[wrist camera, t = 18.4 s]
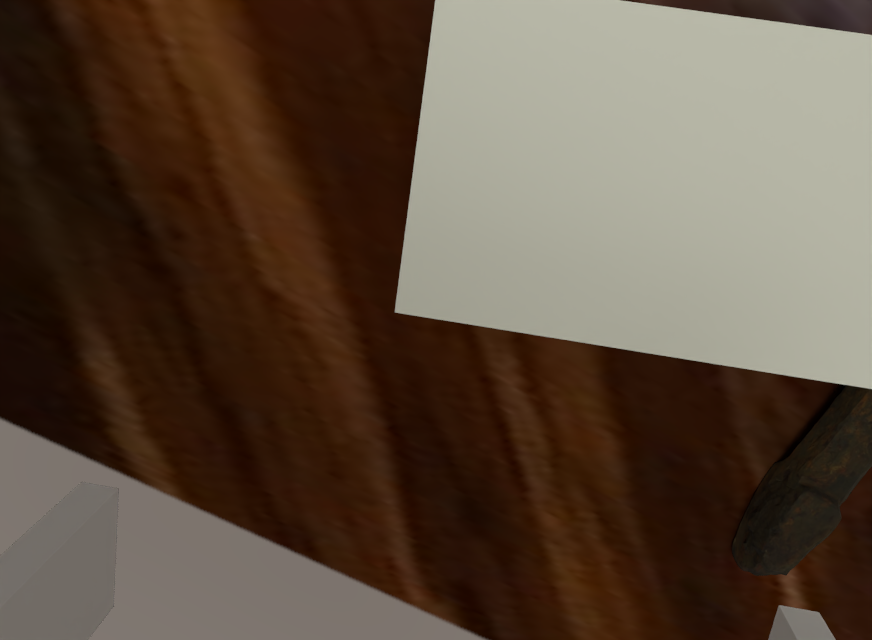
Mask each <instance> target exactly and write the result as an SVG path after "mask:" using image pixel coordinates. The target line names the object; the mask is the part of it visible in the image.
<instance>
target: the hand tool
mask: <svg viewBox="0 0 872 640" xmlns="http://www.w3.org/2000/svg"><path fill="white" fill-rule="evenodd" d="M871 467H872V389H868V388H862V387H856V386H849V385H846V386H845V388H844V389H843V390H842V391H841V393H840V394H839V395H838V396H837V397H836V398H835V399H834V401H833V402H832V404H831V405H830V407H829V408H828V409H827V411H826V412H825V413H824V414H823V416H822V417H821V418H820V419H819V420H818V422H817V423H816V424H815V425H814V426H813V428H812V429H811V430H810V432H809V433H808V434H807V435H806V436H805V437H804V438H803V440H802V441H801V442H800V443H799V444H798V446H797V447H796V448H795V450H794V451H793V452H792V453H791V455H790V456H789V457H787V458H786V459H784V460H783V461H780V462H776V463H774V464H773V466H772V467H771V468H770V470H769V471H768V473H767V474H766V475H765V477H764V478H763V480H762V482H761V483H760V485H759V487H758V488H757V490H756V492H755V494H754V496H753V498H752V500H751V502H750V504H749V506H748V508H747V510H746V512H745V514H744V517H743V519H742V521H741V523H740V526H739V529H738V531H737V534H736V537H735V539H734V541H733V545H732V554H733V557H734V559H735V561H736V563H737V565H738V566H739V567H740V568H741V569H742V570H743V571H748V572H751V573H752V574H754V575H757V576H759V575H762V576H763V575H770V574H773V575H778V574H783V575H787V574H788V572H789V571H790V570H791V569H792V568H794V567H795V566H796V565H797V564H798V563H799V562H800V561H801V560H802V559H803V558H804V557H805V556H806V555H807V554H808V553H809V552H810V551H811V550H812V549H813V548H815V547H816V546H817V545H818V544H819V543H821V542H822V541H823V540H824V539H825V538H827V537H828V536H829V535H830V534H831V533H832V531H833V530H834V529H835V528H836V526H837V525H838V523H839V522H840V520H841V513H840V508H839V507H840V505H841V504H842V503H843V502H844V501H845V500H846V499H847V497H848V496H849V495H850V494H851V491H852V490H853V489H854V487H855V486H856V485H857V483H858V482H859V481H860V480H861V479H862V477H863V476H864V475H865V474H866V472H867V471H868V470H869V468H871Z"/></svg>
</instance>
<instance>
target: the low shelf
mask: <svg viewBox="0 0 872 640" xmlns="http://www.w3.org/2000/svg"><path fill="white" fill-rule="evenodd" d="M395 312H396V313H402V314H408V315H414V316H420V317H427V318H433V319H439V320H445V321H452V322H458V323H464V324H470V325H476V326H483V327H489V328H495V329H501V330H507V331H514V332H520V333H526V334H532V335H539V336H545V337H551V338H557V339H563V340H570V341H576V342H582V343H588V344H594V345H601V346H607V347H613V348H619V349H626V350H632V351H638V352H644V353H650V354H657V355H663V356H669V357H675V358H682V359H688V360H694V361H700V362H706V363H713V364H719V365H725V366H731V367H737V368H744V369H750V370H756V371H762V372H769V373H775V374H781V375H787V376H793V377H800V378H806V379H812V380H818V381H824V382H831V383H837V384H843V385H849V386H856V387H862V388H868V389H872V35H868V34H860V33H853V32H846V31H839V30H831V29H824V28H817V27H809V26H802V25H795V24H788V23H780V22H773V21H766V20H759V19H751V18H744V17H737V16H730V15H722V14H715V13H708V12H701V11H693V10H686V9H679V8H671V7H664V6H657V5H650V4H642V3H635V2H628V1H621V0H435V7H434V15H433V22H432V30H431V38H430V45H429V53H428V61H427V68H426V76H425V84H424V91H423V99H422V107H421V114H420V122H419V130H418V137H417V145H416V153H415V160H414V168H413V176H412V183H411V191H410V199H409V206H408V214H407V222H406V229H405V237H404V245H403V252H402V260H401V268H400V275H399V283H398V291H397V298H396V306H395Z"/></svg>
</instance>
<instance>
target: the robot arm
mask: <svg viewBox="0 0 872 640" xmlns="http://www.w3.org/2000/svg"><path fill="white" fill-rule="evenodd" d="M118 494H119V489H118V488H113V487H107V486H102V485H96V484H91V483H85V482H81V483H80V484H79V485H78V486H77V487H75V488H74V489H73V490H72V491H71V492H70V493H69V494H68V495H67V496H66V497H64V498H63V499H62V500H61V501H60V502H59V503H58V504H57V505H56V506H54V507H53V508H52V509H51V510H50V511H49V512H48V513H47V514H46V515H44V516H43V517H42V518H41V519H40V520H39V521H38V522H37V523H36V524H35V525H33V526H32V527H31V528H30V529H29V530H28V531H27V532H26V533H25V534H23V535H22V536H21V537H20V538H19V539H18V540H17V541H16V542H15V543H14V544H12V545H11V546H10V547H9V548H8V549H7V550H6V551H5V552H4V553H3V554H1V555H0V640H88V639H89V638H90V637H91V635H92V634H93V633H94V631H95V630H96V629H97V627H98V626H99V625H100V624H101V622H102V621H103V620H104V618H105V617H106V616H107V615H108V613H109V612H110V610H111V609H112V608H113V607H114V586H115V564H116V539H117V517H118ZM768 640H835V638H834V637H833V635H832V633H831V632H830V630H829V628H828V627H827V625H826V623H825V622H824V620H823V618H822V617H821V615H820V613H819V612H814V611H809V610H803V609H797V608H792V607H786V606H780V605H779V607H778V610H777V613H776V616H775V620H774V623H773V626H772V630H771V633H770V636H769V639H768Z"/></svg>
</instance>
